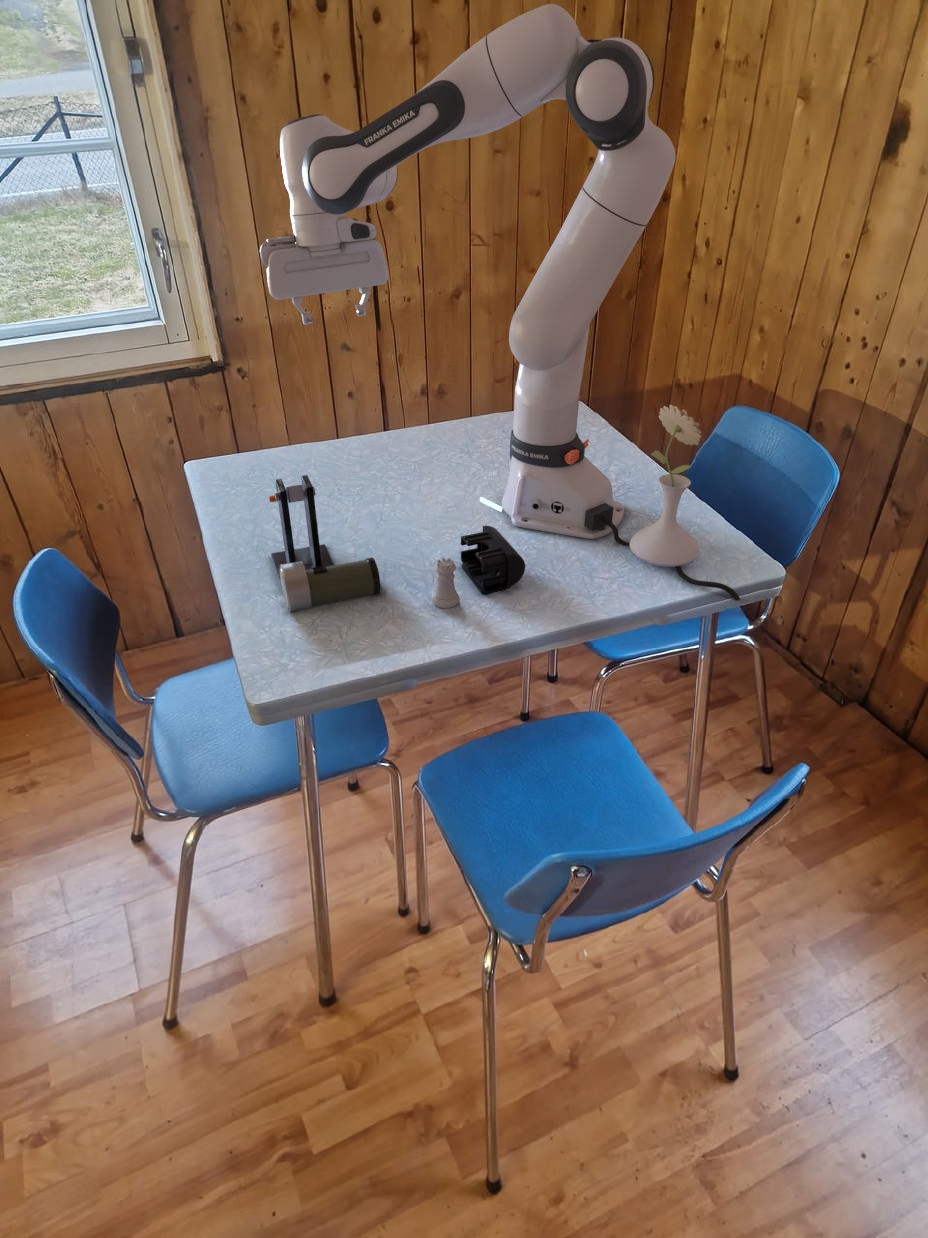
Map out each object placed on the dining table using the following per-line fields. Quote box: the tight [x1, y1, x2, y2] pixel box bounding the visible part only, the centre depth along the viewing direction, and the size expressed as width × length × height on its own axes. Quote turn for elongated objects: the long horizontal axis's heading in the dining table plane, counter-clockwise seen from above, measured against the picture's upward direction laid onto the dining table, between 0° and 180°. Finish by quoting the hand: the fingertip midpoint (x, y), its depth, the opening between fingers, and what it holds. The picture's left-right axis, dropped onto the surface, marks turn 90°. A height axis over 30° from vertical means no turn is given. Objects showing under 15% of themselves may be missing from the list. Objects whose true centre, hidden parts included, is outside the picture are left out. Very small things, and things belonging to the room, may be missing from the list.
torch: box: [280, 556, 382, 613], centre depth 126 cm, size 14×7×7 cm, turn 110°
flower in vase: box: [628, 404, 702, 568], centre depth 133 cm, size 13×11×25 cm
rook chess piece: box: [431, 557, 461, 609], centre depth 125 cm, size 4×4×8 cm
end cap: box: [460, 525, 526, 596], centre depth 132 cm, size 10×7×7 cm
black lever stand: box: [270, 474, 334, 587], centre depth 131 cm, size 11×9×16 cm
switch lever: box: [268, 484, 305, 504], centre depth 133 cm, size 16×6×2 cm
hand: (335, 319), depth 143 cm, fingers open, 8 cm apart
